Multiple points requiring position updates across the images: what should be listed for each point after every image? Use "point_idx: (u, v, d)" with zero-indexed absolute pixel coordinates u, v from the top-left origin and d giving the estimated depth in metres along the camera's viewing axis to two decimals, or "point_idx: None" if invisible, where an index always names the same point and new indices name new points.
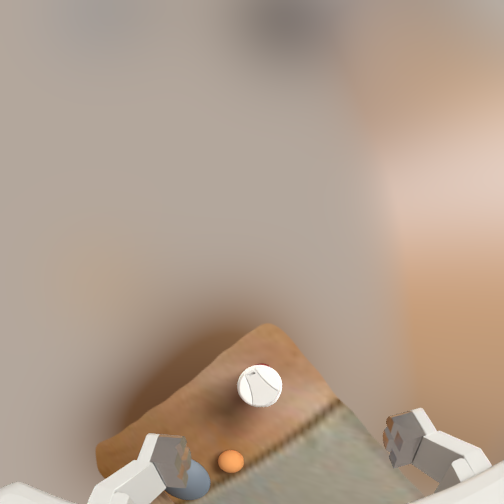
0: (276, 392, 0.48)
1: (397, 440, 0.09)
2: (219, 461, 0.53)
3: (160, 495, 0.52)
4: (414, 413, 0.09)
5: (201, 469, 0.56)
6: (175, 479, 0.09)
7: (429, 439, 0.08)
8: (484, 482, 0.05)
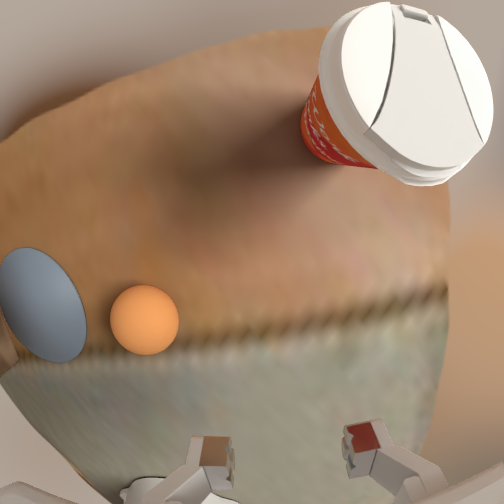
0: (476, 143, 0.09)
1: (350, 451, 0.09)
2: (114, 309, 0.21)
3: None
4: (372, 423, 0.10)
5: (76, 305, 0.26)
6: (223, 481, 0.09)
7: (384, 453, 0.08)
8: (484, 482, 0.05)
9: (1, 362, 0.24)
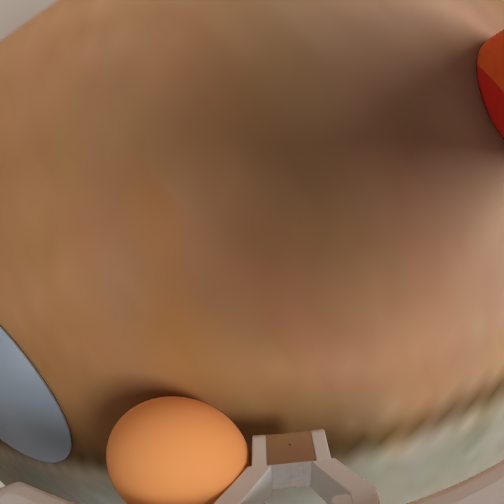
0: None
1: None
2: (112, 458, 0.08)
3: None
4: (312, 433, 0.10)
5: (46, 398, 0.12)
6: (288, 479, 0.09)
7: (318, 465, 0.08)
8: (484, 482, 0.05)
9: None
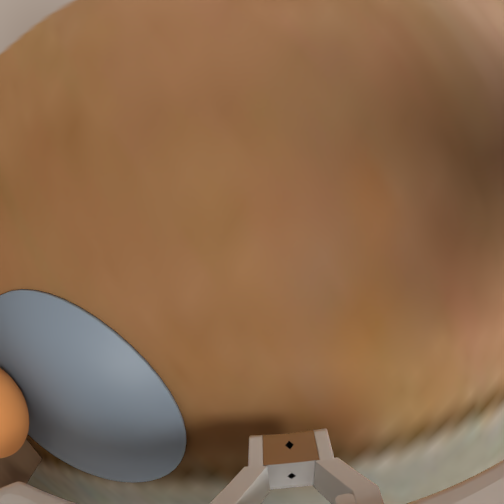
0: None
1: None
2: None
3: None
4: (315, 433, 0.10)
5: (164, 412, 0.12)
6: (284, 479, 0.09)
7: (321, 465, 0.08)
8: (484, 482, 0.05)
9: (13, 473, 0.11)
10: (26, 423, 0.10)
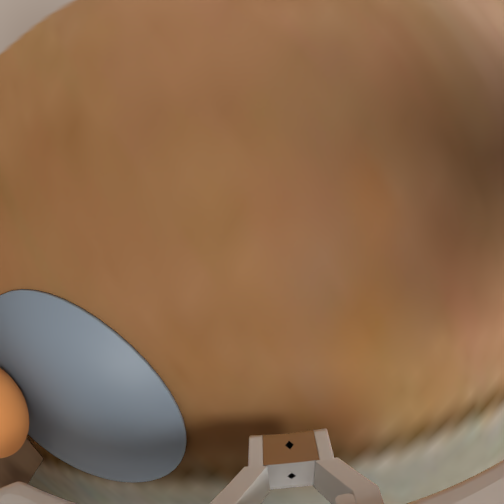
0: None
1: None
2: None
3: None
4: (315, 433, 0.10)
5: (164, 412, 0.12)
6: (284, 479, 0.09)
7: (321, 465, 0.08)
8: (484, 482, 0.05)
9: (14, 473, 0.11)
10: (26, 423, 0.10)
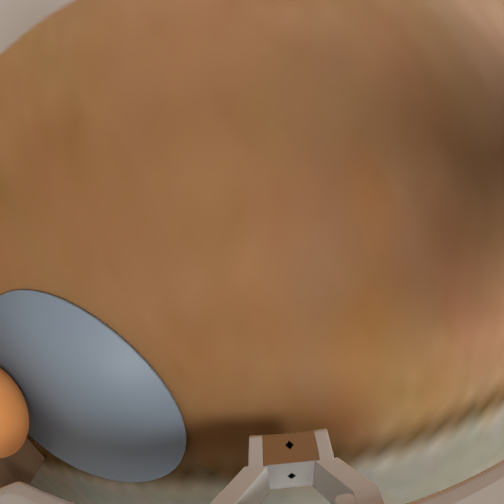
0: None
1: None
2: None
3: None
4: (315, 433, 0.10)
5: (164, 412, 0.12)
6: (284, 479, 0.09)
7: (321, 465, 0.08)
8: (484, 482, 0.05)
9: (15, 473, 0.11)
10: (26, 423, 0.10)
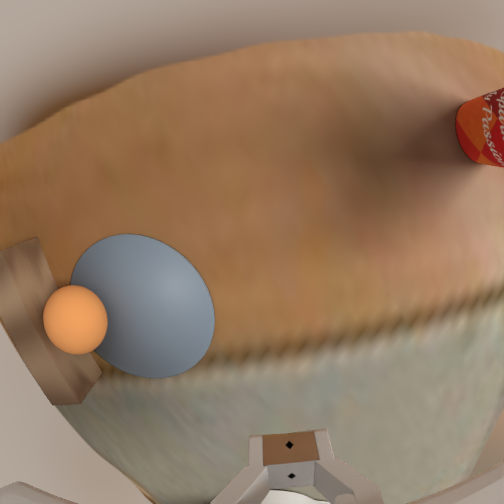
0: None
1: None
2: (44, 308, 0.19)
3: None
4: (315, 433, 0.10)
5: (203, 306, 0.23)
6: (284, 479, 0.09)
7: (321, 465, 0.08)
8: (484, 482, 0.05)
9: (81, 379, 0.22)
10: None
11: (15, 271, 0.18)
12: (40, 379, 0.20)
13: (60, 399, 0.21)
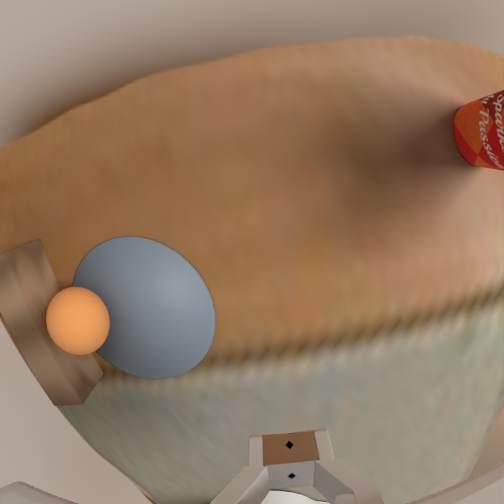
0: None
1: None
2: (47, 309, 0.20)
3: None
4: (315, 433, 0.10)
5: (204, 307, 0.24)
6: (284, 479, 0.09)
7: (321, 465, 0.08)
8: (484, 482, 0.05)
9: (83, 380, 0.22)
10: (109, 326, 0.22)
11: (19, 273, 0.19)
12: (42, 379, 0.20)
13: (62, 399, 0.21)
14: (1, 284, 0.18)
